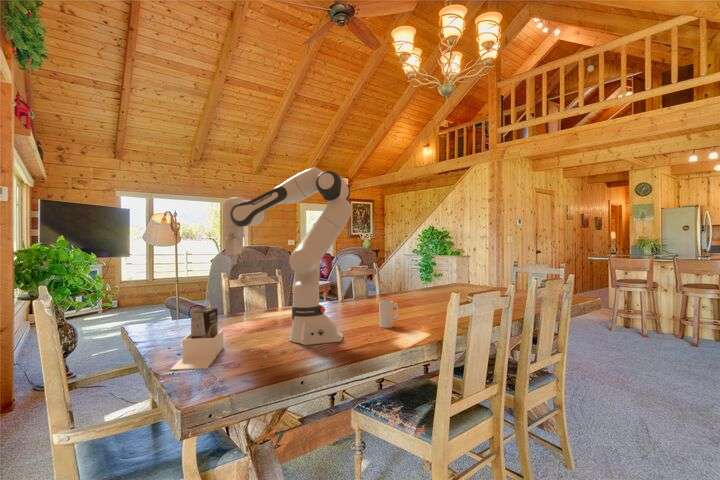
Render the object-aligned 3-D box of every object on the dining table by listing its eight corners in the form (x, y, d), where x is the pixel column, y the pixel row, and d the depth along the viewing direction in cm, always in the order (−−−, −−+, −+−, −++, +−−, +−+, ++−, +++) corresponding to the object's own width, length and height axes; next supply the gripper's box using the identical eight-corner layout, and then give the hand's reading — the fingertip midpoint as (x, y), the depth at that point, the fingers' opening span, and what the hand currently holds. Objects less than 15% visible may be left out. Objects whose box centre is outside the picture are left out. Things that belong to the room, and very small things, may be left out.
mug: (381, 328, 183) (381, 302, 182) (377, 325, 189) (377, 300, 189) (401, 327, 185) (401, 301, 185) (396, 324, 192) (396, 299, 192)
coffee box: (207, 356, 143) (206, 312, 143) (190, 355, 144) (189, 312, 144) (218, 349, 152) (218, 307, 152) (203, 348, 153) (202, 307, 153)
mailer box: (224, 347, 155) (223, 329, 155) (207, 368, 130) (206, 347, 130) (193, 348, 153) (192, 330, 153) (169, 370, 129) (169, 349, 129)
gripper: (236, 233, 166) (237, 266, 166) (245, 233, 187) (245, 262, 187) (221, 233, 166) (221, 266, 166) (231, 233, 186) (231, 263, 186)
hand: (234, 264), depth 176 cm, fingers closed
